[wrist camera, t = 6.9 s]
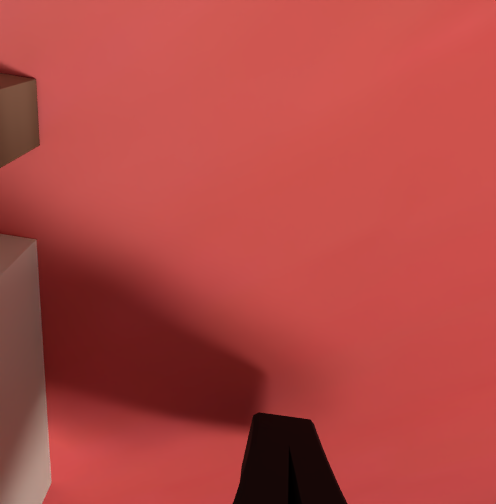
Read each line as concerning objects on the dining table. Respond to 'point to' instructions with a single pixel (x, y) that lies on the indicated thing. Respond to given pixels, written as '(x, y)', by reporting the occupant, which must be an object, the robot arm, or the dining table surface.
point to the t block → (22, 377)
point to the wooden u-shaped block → (17, 117)
